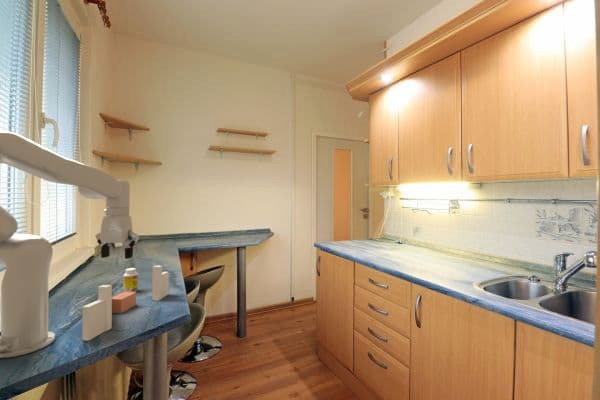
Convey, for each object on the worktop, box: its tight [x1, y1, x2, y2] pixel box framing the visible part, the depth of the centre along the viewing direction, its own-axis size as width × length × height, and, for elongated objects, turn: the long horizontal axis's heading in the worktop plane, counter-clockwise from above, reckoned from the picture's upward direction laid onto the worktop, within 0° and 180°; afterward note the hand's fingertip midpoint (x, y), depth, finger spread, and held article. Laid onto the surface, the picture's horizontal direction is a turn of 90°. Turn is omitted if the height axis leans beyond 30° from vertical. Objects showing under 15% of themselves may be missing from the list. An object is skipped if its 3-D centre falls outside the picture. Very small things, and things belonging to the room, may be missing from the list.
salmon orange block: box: [112, 291, 137, 314], centre depth 106 cm, size 8×5×5 cm, turn 175°
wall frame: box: [81, 265, 170, 342], centre depth 101 cm, size 40×3×14 cm, turn 173°
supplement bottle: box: [122, 267, 139, 293], centre depth 124 cm, size 6×6×10 cm
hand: (117, 257), depth 104 cm, fingers open, 9 cm apart
